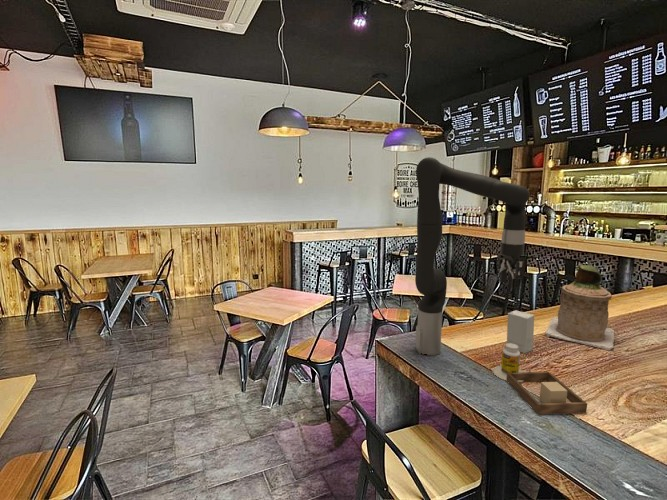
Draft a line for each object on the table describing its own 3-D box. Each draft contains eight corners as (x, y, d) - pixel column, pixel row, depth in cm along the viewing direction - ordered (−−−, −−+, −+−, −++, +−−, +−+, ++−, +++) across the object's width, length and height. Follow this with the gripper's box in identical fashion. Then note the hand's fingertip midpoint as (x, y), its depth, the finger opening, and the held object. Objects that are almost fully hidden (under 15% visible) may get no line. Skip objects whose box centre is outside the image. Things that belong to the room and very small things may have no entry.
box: (548, 409, 113) (550, 391, 112) (539, 399, 118) (541, 382, 117) (565, 409, 113) (567, 390, 112) (554, 399, 118) (556, 381, 117)
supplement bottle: (498, 373, 132) (501, 345, 131) (503, 367, 137) (505, 340, 135) (515, 378, 129) (518, 350, 127) (520, 372, 133) (522, 345, 131)
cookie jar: (613, 352, 149) (624, 274, 143) (543, 337, 164) (551, 265, 158) (614, 332, 169) (624, 262, 163) (551, 320, 183) (559, 255, 177)
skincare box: (532, 350, 151) (536, 315, 148) (524, 354, 148) (527, 318, 145) (513, 343, 158) (516, 309, 155) (504, 346, 155) (507, 312, 152)
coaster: (501, 383, 127) (501, 381, 127) (487, 367, 138) (487, 365, 138) (533, 382, 128) (533, 380, 128) (516, 366, 138) (516, 364, 138)
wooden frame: (537, 414, 110) (538, 405, 110) (506, 380, 129) (507, 372, 128) (586, 412, 111) (587, 403, 110) (548, 379, 129) (548, 371, 129)
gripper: (534, 245, 128) (529, 291, 131) (513, 238, 142) (509, 280, 145) (512, 245, 128) (508, 291, 131) (493, 238, 142) (490, 280, 145)
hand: (508, 285), depth 138 cm, fingers open, 8 cm apart
